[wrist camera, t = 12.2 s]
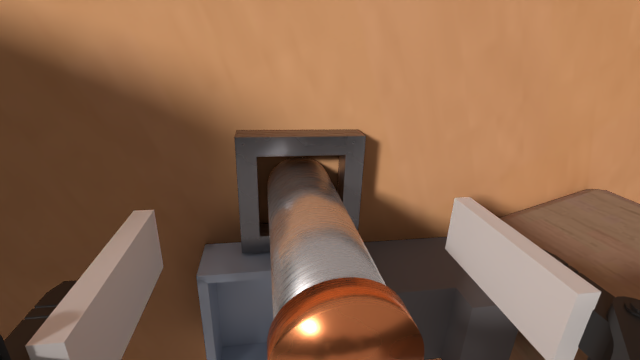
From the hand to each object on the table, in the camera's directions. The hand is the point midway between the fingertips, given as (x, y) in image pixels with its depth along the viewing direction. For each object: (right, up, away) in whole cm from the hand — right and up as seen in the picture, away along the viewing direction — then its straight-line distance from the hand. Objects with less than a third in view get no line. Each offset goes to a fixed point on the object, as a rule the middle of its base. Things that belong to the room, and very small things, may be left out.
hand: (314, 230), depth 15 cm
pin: (-1, +2, +5) cm, 5 cm away
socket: (-1, +2, +5) cm, 5 cm away
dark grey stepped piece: (+6, -4, +8) cm, 11 cm away
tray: (-3, -5, +7) cm, 9 cm away
